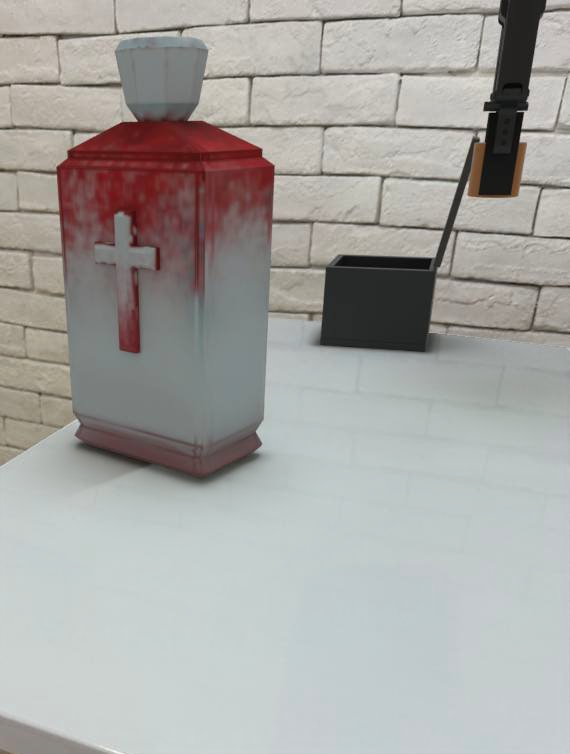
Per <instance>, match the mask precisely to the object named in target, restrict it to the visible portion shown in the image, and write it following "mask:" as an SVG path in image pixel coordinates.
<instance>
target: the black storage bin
mask: <svg viewBox="0 0 570 754" xmlns="http://www.w3.org/2000/svg"><path fill="white" fill-rule="evenodd" d="M434 261H435V257H432V256H431V257H429V256H398V255H373V254H372V255H369V254H345V253H344V254H342V253H341V254H340V253H339V254H337V255H336V256H335V257H334V258H333V259H332V260H331V261H330V262H329V263H328V264H327V265H326V266H325V275H324V287H323V288H324V289H323V300H322V313H321V327H320V338H319V339H320V340H319V345H322V346H337V347H353V348H366V349H382V350H394V351H395V350H399V351H411V352H413V351H414V352H426V349H427V345H428V340H429V335H430V329H431V321H432V314H433V308H434V299H435V292H436V284H437V277H438V271H439V269H438V268H439V267H435V266H433V265H434Z"/></svg>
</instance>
